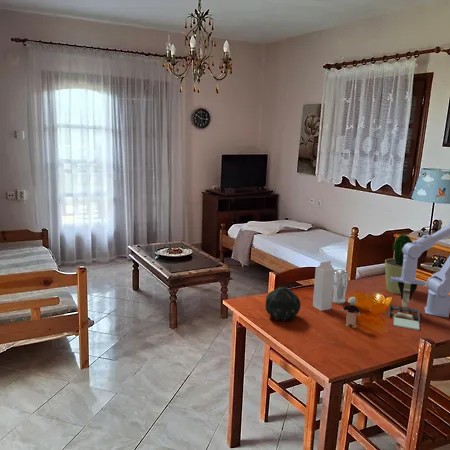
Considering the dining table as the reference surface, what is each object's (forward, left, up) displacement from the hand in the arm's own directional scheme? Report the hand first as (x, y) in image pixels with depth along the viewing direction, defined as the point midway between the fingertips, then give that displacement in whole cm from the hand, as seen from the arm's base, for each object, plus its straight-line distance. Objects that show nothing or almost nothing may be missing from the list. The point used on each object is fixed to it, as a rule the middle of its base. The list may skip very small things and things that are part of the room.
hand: (405, 299), depth 196 cm
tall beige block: (0, 0, -2) cm, 2 cm away
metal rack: (0, +2, -7) cm, 7 cm away
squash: (+49, +28, -7) cm, 57 cm away
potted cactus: (+3, -30, -7) cm, 31 cm away
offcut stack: (0, +6, -7) cm, 9 cm away
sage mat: (-1, +12, -7) cm, 14 cm away
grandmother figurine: (+21, +24, -7) cm, 33 cm away
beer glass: (+29, -1, -7) cm, 30 cm away
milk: (+35, +10, -7) cm, 37 cm away
